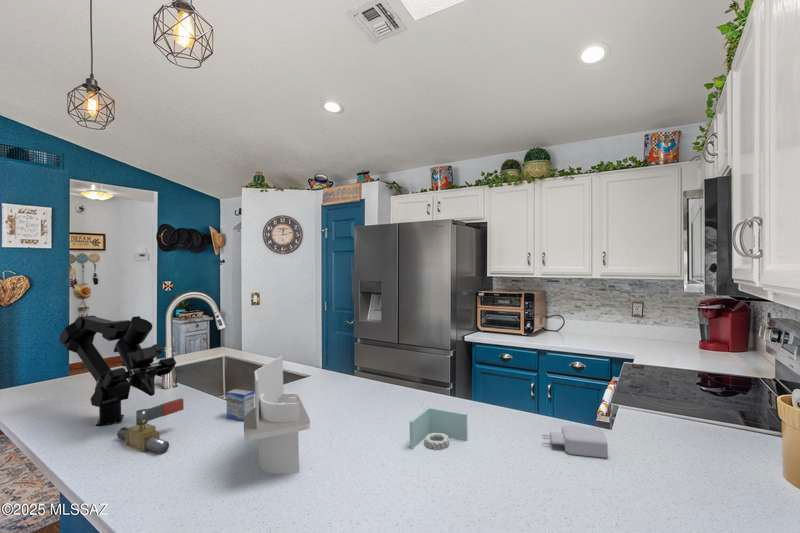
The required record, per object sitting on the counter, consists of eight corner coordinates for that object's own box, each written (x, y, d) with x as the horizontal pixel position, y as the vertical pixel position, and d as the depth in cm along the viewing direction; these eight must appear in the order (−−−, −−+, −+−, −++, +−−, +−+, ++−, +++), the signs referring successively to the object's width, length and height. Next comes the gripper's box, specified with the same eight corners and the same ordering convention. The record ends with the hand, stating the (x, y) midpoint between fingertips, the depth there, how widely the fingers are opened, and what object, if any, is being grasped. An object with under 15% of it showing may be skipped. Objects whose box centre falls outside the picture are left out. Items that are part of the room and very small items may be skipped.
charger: (541, 438, 111) (599, 443, 107) (544, 453, 102) (608, 460, 98) (541, 421, 111) (599, 426, 107) (543, 435, 102) (607, 441, 98)
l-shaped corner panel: (410, 449, 106) (409, 421, 106) (428, 432, 116) (428, 406, 116) (452, 459, 100) (451, 429, 100) (467, 440, 110) (467, 413, 110)
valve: (115, 441, 113) (115, 420, 113) (130, 435, 116) (130, 415, 116) (155, 456, 103) (155, 433, 103) (170, 450, 107) (170, 428, 107)
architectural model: (330, 475, 93) (329, 376, 93) (233, 496, 85) (231, 388, 85) (310, 429, 119) (309, 352, 119) (234, 443, 111) (233, 359, 111)
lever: (134, 424, 109) (134, 411, 109) (179, 409, 120) (179, 397, 120) (139, 425, 108) (139, 413, 108) (184, 410, 119) (184, 398, 119)
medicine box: (226, 418, 128) (225, 392, 128) (236, 413, 132) (236, 388, 132) (245, 422, 125) (244, 394, 125) (255, 417, 130) (254, 390, 129)
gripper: (107, 342, 111) (128, 387, 106) (172, 332, 127) (194, 370, 122) (93, 367, 115) (113, 411, 110) (158, 354, 131) (179, 392, 126)
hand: (152, 394), depth 117 cm, fingers closed
